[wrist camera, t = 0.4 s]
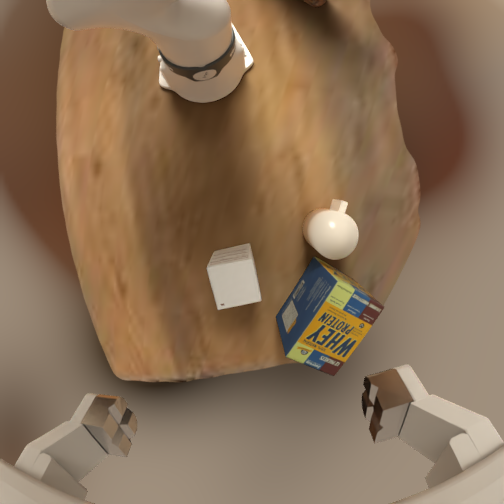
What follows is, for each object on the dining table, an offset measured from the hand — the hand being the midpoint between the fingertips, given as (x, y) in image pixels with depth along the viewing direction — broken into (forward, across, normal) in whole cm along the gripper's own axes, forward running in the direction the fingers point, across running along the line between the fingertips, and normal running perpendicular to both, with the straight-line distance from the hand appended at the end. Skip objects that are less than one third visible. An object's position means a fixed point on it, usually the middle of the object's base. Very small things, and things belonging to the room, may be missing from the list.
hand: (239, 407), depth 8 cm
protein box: (+46, -10, +21) cm, 52 cm away
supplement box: (+46, +5, +11) cm, 48 cm away
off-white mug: (+47, -13, +7) cm, 49 cm away
